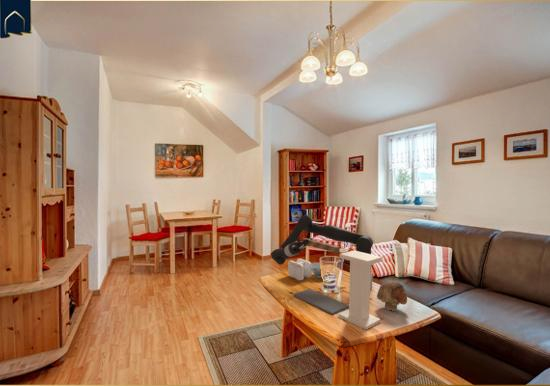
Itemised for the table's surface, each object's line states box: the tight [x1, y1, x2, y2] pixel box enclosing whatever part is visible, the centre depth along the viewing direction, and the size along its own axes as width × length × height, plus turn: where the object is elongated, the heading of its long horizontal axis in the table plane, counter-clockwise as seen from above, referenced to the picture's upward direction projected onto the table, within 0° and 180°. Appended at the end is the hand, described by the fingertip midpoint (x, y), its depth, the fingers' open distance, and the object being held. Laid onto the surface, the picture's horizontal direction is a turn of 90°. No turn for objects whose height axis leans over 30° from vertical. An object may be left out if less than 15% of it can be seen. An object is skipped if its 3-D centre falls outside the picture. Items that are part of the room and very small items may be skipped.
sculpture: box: [376, 280, 408, 312], centre depth 150 cm, size 15×16×15 cm
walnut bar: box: [301, 237, 341, 254], centre depth 159 cm, size 26×3×3 cm, turn 38°
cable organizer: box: [287, 258, 312, 281], centre depth 198 cm, size 15×11×12 cm
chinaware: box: [310, 262, 321, 278], centre depth 202 cm, size 15×15×8 cm
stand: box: [337, 249, 383, 330], centre depth 138 cm, size 16×12×32 cm
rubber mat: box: [292, 288, 349, 316], centre depth 159 cm, size 30×14×1 cm, turn 38°
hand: (310, 240), depth 165 cm, fingers closed on walnut bar, 3 cm apart
